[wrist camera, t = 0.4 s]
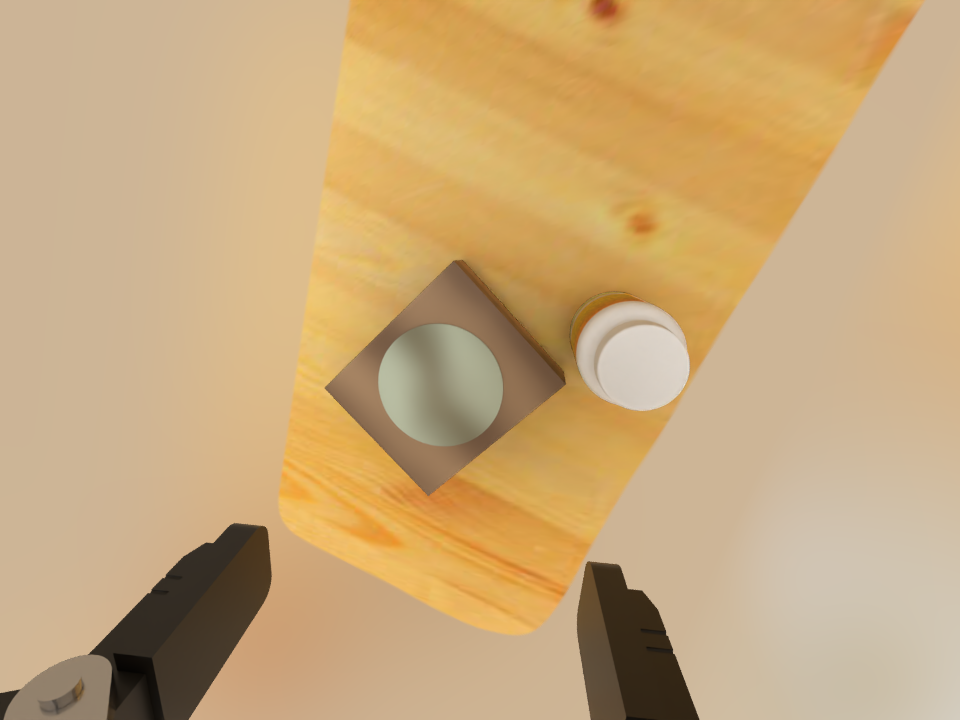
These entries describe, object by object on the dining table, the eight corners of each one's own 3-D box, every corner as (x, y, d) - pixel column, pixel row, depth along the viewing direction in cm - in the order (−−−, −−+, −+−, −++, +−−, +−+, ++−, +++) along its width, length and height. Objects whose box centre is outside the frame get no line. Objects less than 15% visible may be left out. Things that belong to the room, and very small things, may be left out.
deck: (462, 260, 29) (453, 260, 26) (563, 371, 30) (565, 385, 27) (343, 376, 32) (322, 388, 29) (438, 475, 33) (427, 497, 30)
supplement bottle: (554, 349, 30) (558, 392, 21) (595, 276, 28) (620, 286, 19) (626, 386, 30) (664, 447, 20) (671, 314, 28) (734, 344, 19)
